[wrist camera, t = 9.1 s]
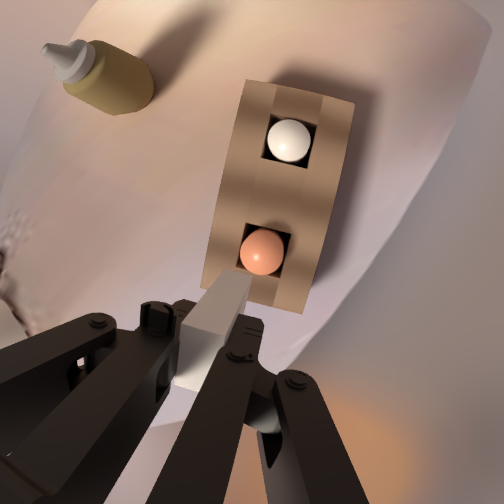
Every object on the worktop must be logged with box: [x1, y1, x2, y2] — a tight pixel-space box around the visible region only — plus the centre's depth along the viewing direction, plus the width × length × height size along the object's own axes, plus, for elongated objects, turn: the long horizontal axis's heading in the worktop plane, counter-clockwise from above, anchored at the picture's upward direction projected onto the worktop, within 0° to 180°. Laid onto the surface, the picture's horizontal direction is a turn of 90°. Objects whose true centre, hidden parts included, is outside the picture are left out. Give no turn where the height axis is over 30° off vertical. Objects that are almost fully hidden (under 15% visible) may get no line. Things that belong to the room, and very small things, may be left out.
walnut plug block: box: [200, 79, 355, 314], centre depth 30 cm, size 22×11×6 cm, turn 167°
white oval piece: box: [268, 120, 310, 165], centre depth 29 cm, size 4×4×6 cm
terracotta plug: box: [240, 226, 285, 275], centre depth 30 cm, size 4×4×6 cm
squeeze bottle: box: [41, 40, 154, 116], centre depth 24 cm, size 8×8×18 cm
